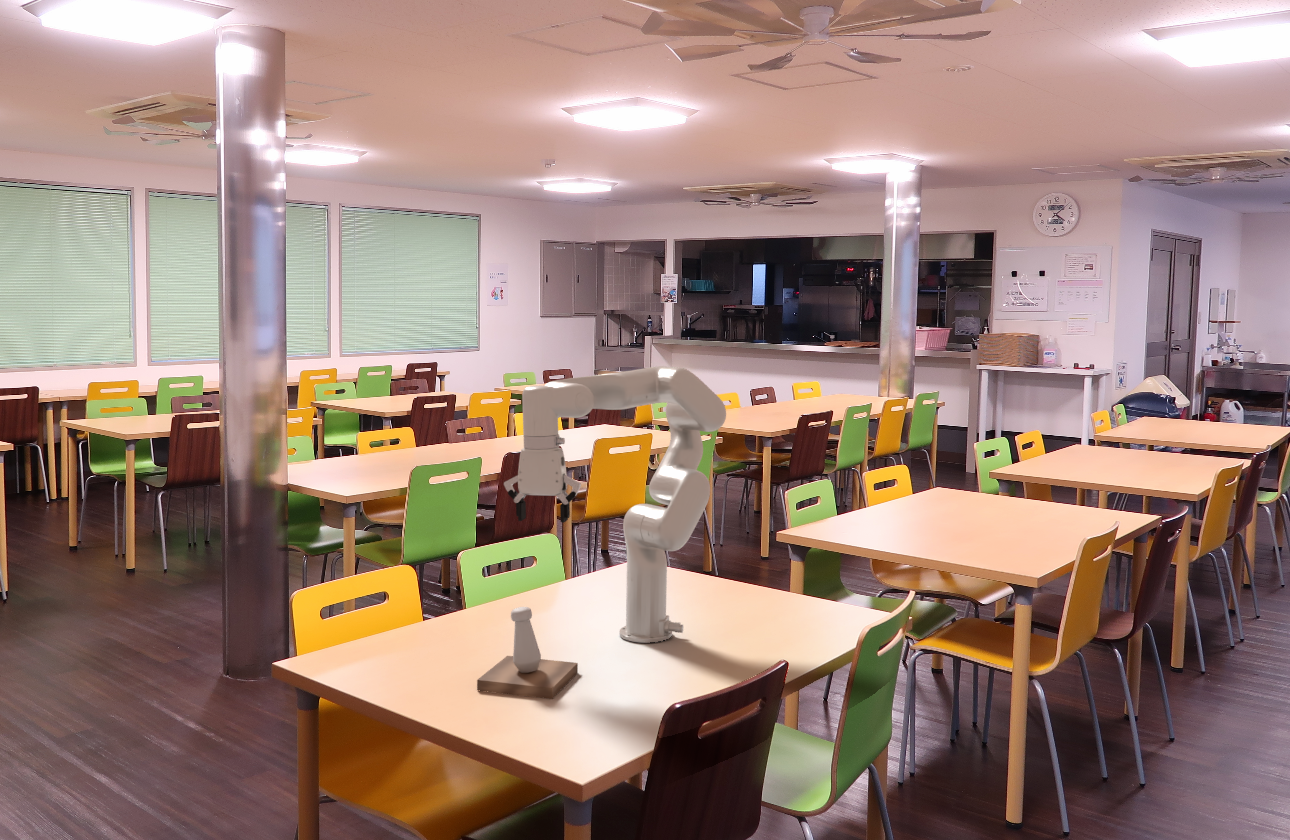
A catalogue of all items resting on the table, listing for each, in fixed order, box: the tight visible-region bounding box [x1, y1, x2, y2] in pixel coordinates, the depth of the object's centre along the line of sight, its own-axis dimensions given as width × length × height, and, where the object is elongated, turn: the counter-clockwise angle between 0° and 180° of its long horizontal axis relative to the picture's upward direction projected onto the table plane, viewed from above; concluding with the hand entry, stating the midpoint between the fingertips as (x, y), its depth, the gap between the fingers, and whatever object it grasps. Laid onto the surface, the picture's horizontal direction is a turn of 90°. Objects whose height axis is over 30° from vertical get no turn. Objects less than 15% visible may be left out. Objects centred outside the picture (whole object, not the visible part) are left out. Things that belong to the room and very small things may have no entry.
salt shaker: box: [510, 606, 542, 673], centre depth 214 cm, size 6×6×13 cm
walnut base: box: [476, 655, 579, 700], centre depth 215 cm, size 16×16×3 cm
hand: (543, 520), depth 226 cm, fingers open, 9 cm apart
